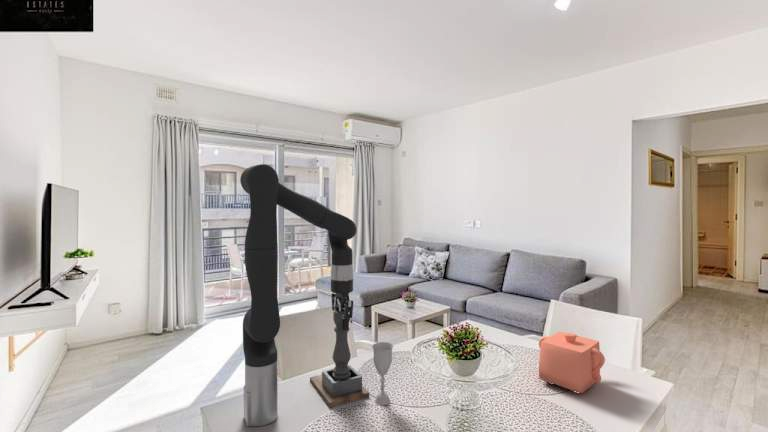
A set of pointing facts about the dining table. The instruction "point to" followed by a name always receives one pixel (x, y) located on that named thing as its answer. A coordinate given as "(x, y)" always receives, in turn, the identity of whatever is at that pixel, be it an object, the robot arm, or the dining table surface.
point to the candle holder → (340, 349)
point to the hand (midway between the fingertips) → (341, 326)
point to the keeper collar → (342, 383)
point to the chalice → (382, 367)
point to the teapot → (570, 361)
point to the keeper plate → (331, 402)
